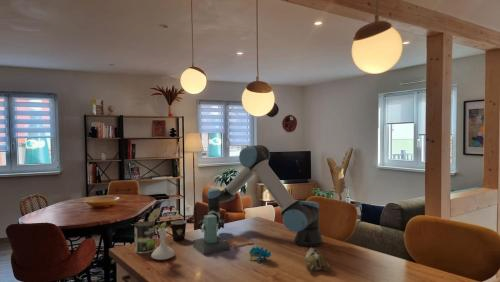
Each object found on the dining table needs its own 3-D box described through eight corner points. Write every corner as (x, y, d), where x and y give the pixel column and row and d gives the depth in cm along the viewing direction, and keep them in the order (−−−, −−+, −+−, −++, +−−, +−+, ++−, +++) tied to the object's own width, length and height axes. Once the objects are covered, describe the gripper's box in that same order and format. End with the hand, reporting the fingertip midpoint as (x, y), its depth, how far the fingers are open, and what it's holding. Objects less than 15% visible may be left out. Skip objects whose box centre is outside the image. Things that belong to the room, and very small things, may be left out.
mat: (253, 243, 183) (253, 242, 183) (233, 247, 176) (233, 246, 176) (241, 237, 194) (241, 236, 194) (221, 241, 187) (221, 240, 187)
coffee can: (159, 248, 175) (158, 222, 175) (143, 255, 166) (143, 227, 166) (145, 245, 180) (145, 220, 180) (130, 251, 172) (129, 224, 171)
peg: (216, 246, 174) (216, 216, 174) (208, 248, 171) (207, 217, 171) (212, 243, 178) (212, 214, 178) (204, 245, 176) (203, 215, 175)
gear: (274, 255, 160) (266, 245, 154) (272, 267, 156) (263, 257, 150) (254, 255, 165) (245, 245, 159) (251, 266, 161) (242, 256, 155)
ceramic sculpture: (322, 243, 156) (332, 257, 141) (322, 261, 156) (332, 276, 142) (300, 244, 155) (308, 258, 140) (300, 262, 156) (308, 277, 141)
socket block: (228, 250, 173) (228, 242, 173) (203, 255, 165) (203, 247, 165) (216, 242, 185) (216, 235, 184) (193, 247, 177) (193, 239, 177)
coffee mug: (188, 237, 194) (188, 220, 194) (183, 242, 186) (183, 224, 186) (169, 236, 196) (168, 220, 195) (163, 241, 187) (163, 224, 187)
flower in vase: (167, 251, 171) (166, 203, 170) (179, 257, 162) (178, 207, 162) (143, 258, 161) (143, 207, 161) (155, 265, 153) (154, 211, 153)
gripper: (229, 224, 193) (228, 236, 170) (196, 225, 192) (190, 237, 169) (229, 212, 193) (228, 222, 170) (195, 212, 192) (190, 223, 169)
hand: (209, 229), depth 170 cm, fingers closed on peg, 7 cm apart
